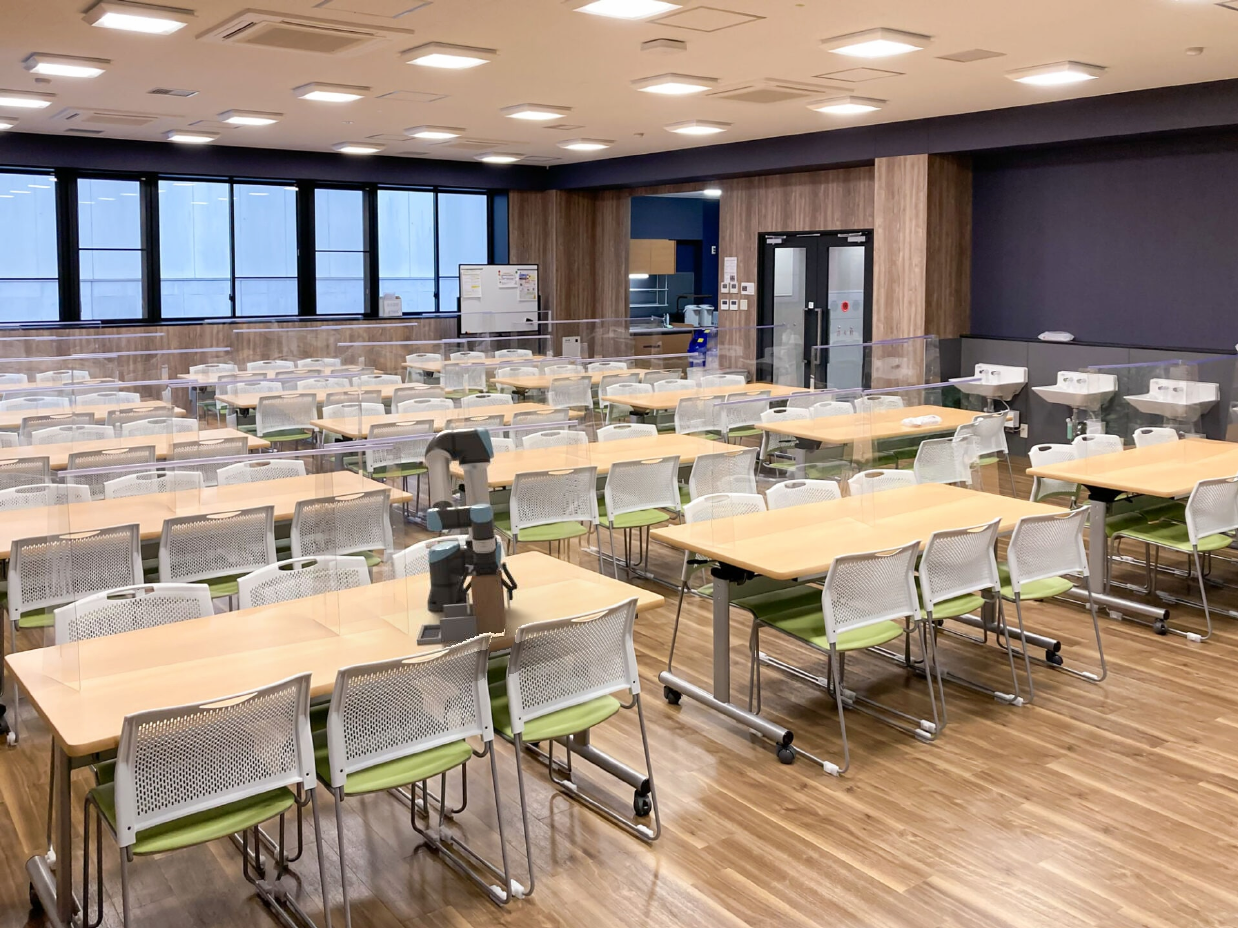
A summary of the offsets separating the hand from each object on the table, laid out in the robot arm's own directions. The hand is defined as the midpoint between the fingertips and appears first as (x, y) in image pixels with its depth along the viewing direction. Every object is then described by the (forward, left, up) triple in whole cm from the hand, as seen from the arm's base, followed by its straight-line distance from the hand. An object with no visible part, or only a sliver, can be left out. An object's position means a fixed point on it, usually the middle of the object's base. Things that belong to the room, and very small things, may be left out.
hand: (489, 610), depth 397 cm
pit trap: (0, -20, -7) cm, 21 cm away
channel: (0, -10, -7) cm, 12 cm away
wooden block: (-1, 0, -7) cm, 7 cm away
